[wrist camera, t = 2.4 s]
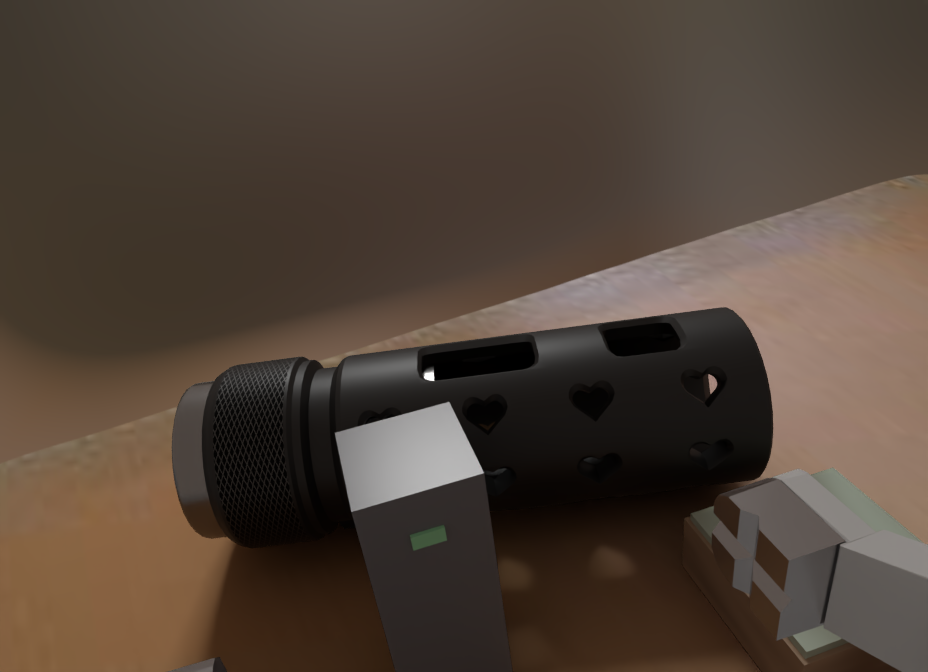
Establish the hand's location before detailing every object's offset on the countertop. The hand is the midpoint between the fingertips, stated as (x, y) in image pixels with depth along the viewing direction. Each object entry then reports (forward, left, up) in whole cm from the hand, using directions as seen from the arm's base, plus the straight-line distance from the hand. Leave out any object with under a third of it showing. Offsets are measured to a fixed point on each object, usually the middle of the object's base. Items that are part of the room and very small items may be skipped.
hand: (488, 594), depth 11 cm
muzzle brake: (-4, -21, -19) cm, 29 cm away
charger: (0, -12, -18) cm, 22 cm away
